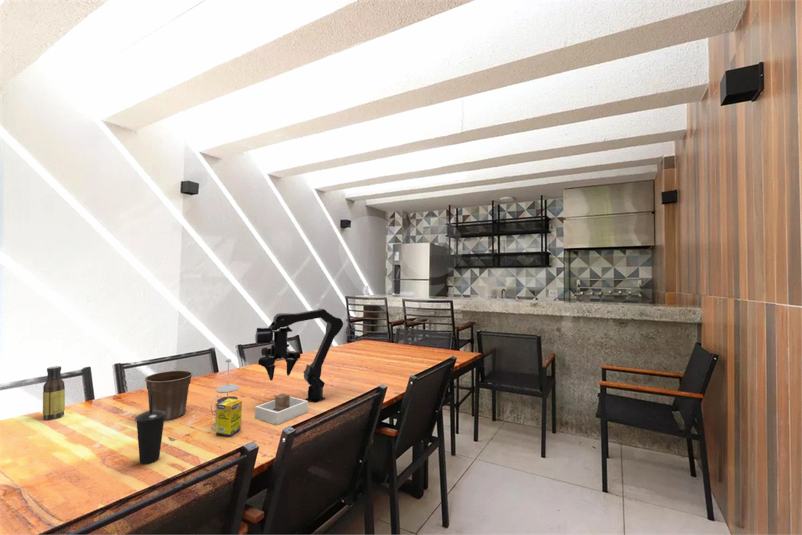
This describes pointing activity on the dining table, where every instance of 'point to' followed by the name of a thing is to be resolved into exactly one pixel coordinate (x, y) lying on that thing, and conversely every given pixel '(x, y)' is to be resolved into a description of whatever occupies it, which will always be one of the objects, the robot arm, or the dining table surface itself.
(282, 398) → the peg
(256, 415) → the tray
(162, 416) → the drinking cup
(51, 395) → the sauce bottle
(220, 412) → the supplement box
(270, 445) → the dining table surface
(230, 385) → the french press
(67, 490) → the dining table surface
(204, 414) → the dining table surface
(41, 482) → the dining table surface
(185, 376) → the plant pot
